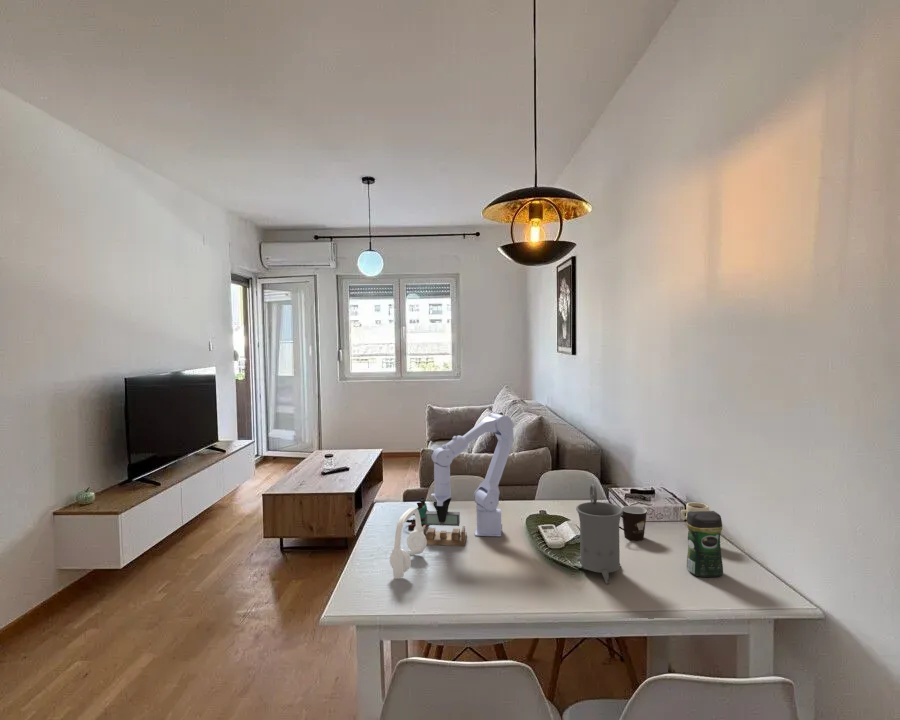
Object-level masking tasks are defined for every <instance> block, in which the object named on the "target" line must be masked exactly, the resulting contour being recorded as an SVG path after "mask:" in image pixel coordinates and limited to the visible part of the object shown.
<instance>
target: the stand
mask: <svg viewBox="0 0 900 720" xmlns="http://www.w3.org/2000/svg"><path fill="white" fill-rule="evenodd" d="M423 530H424V535H425V537H426V540H427V545H428V546H431V545H432V546H434V545H435V546H456V547H457V546H461V547H462V546H463V547H464V546H465V544H466V540H467V535H468V534H467V532H466V526H464V525H463V526H462V528H461V529H460V528H452V531H447V530H440V531H436V527H429V528H428V529H427V526H426V525H423ZM427 545H426V546H427Z"/></svg>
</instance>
